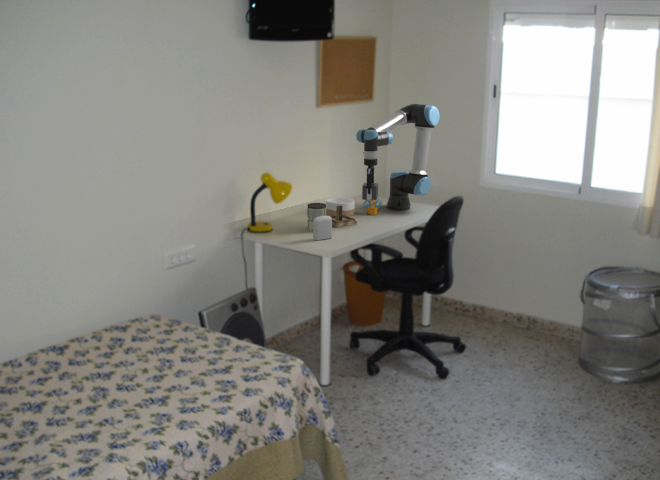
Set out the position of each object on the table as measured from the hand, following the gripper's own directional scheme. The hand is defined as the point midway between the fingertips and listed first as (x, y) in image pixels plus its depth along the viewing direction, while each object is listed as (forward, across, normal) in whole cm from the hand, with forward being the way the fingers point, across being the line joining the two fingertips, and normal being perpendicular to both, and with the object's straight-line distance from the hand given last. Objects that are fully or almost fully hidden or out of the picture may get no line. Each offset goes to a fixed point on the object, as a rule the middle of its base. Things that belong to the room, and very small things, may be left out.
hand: (370, 197), depth 384 cm
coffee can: (+14, +23, -27) cm, 38 cm away
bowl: (+15, -18, -20) cm, 31 cm away
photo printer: (+14, +40, -20) cm, 47 cm away
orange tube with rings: (+15, -21, -1) cm, 26 cm away
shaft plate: (+14, +6, -17) cm, 23 cm away
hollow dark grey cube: (0, 0, 0) cm, 0 cm away
